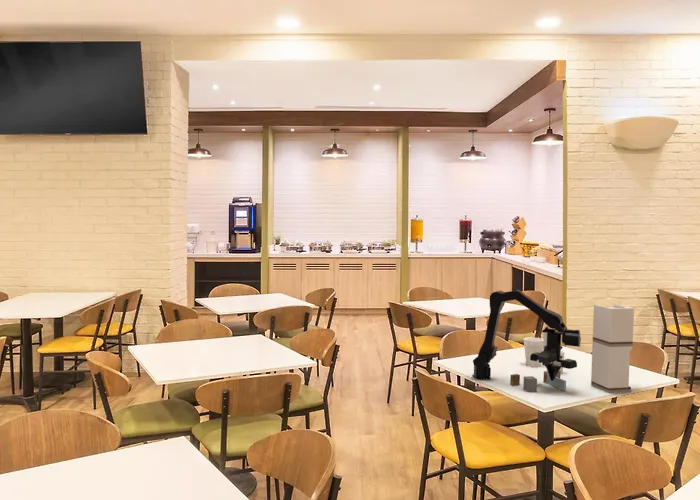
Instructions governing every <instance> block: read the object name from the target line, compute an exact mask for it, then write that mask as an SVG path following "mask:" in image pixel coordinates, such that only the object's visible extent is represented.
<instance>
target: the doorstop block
mask: <svg viewBox="0 0 700 500" xmlns="http://www.w3.org/2000/svg"><path fill="white" fill-rule="evenodd" d="M522 387H523V390H524V391H525V392H526V393H537V392H538V389H537V388H538V379H537V377H535V376H532V375H531V376H527V375H526V376H523V386H522Z"/></svg>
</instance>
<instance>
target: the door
mask: <svg viewBox="0 0 700 500" xmlns="http://www.w3.org/2000/svg"><path fill="white" fill-rule="evenodd" d="M546 384H549V385H551V386H553V387H555V388H557V389H559V390H562V391H563V392H565V391H567V380H565V379H563V378H561V377H560V378H558V377H555V379H554V381H551V380H550V376H549V373H547V383H546Z"/></svg>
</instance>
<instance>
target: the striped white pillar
mask: <svg viewBox="0 0 700 500" xmlns="http://www.w3.org/2000/svg"><path fill="white" fill-rule="evenodd" d="M634 316H635V308H634V307H630V306H624V305H622V304H621V305H620V304H613V307H608V306H603V305H599V304H593V319H592V320H593V322H592V343H591V345H592V349H591V373H590V386H591V387H594V388H596V389H597V390H600V391H602V392H604V393H607V394H615V393H616V394H618V393H631V392H632V387H631V386H630V384H629V383H630V358H631V357H630V356H631V351H632V350H633V347H634V346H633V344H634V340H633V339H634Z"/></svg>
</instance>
